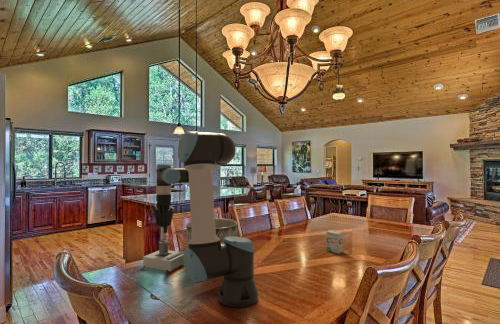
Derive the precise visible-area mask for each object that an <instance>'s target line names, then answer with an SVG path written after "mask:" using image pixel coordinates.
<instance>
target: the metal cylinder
mask: <svg viewBox="0 0 500 324" xmlns="http://www.w3.org/2000/svg"><path fill="white" fill-rule="evenodd" d="M168 250H169V239H164V240H161V239H160V240H159V241H158V251H159V256H160V257H166V256H168Z"/></svg>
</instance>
